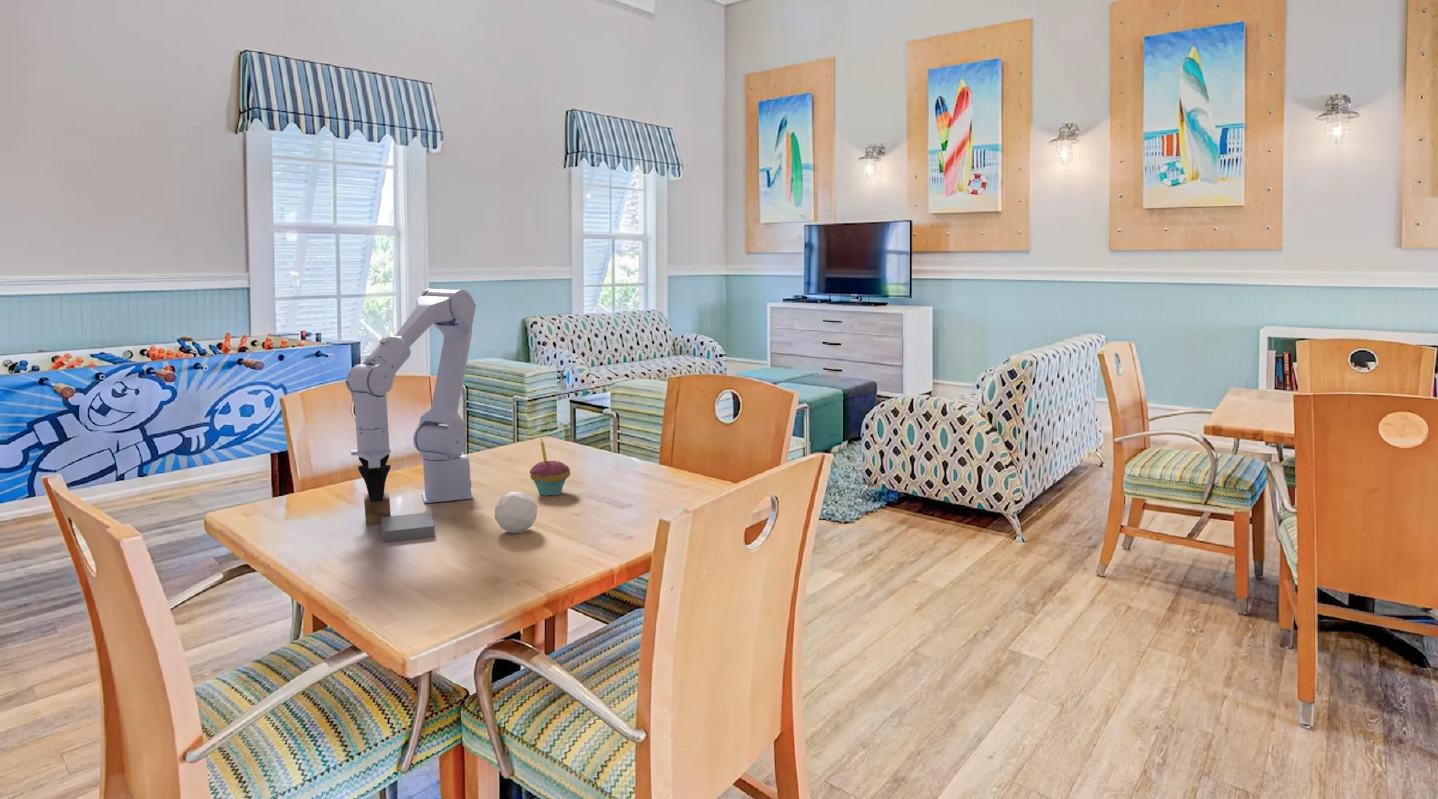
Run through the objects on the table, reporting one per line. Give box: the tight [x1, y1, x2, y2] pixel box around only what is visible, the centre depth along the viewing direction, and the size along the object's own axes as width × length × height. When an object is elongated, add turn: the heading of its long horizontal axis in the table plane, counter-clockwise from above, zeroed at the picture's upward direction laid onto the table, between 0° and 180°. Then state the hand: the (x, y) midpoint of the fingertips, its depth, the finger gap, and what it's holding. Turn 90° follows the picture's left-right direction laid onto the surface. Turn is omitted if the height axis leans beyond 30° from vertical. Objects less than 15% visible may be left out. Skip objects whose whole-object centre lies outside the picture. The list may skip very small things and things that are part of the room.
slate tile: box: [380, 511, 436, 543], centre depth 160 cm, size 9×9×2 cm
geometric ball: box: [494, 491, 538, 534], centre depth 161 cm, size 8×8×8 cm
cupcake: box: [529, 438, 571, 497], centre depth 185 cm, size 9×8×12 cm
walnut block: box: [363, 491, 392, 527], centre depth 167 cm, size 4×4×5 cm
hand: (376, 495), depth 166 cm, fingers open, 7 cm apart
